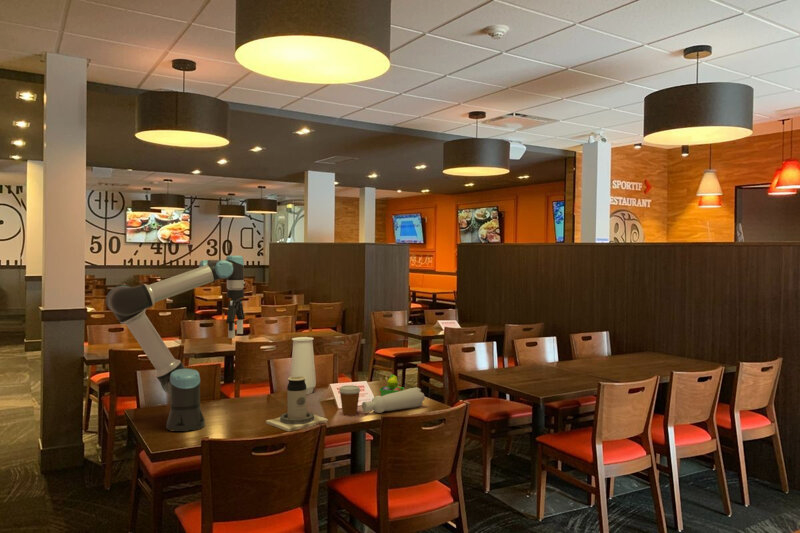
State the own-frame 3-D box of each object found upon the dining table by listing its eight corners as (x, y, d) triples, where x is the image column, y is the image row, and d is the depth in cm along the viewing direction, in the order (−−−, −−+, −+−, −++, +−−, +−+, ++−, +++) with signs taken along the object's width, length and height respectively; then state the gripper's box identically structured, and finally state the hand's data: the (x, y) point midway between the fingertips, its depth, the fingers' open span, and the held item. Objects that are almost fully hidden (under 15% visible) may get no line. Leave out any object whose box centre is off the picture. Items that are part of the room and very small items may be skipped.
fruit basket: (379, 399, 302) (378, 377, 302) (383, 395, 311) (383, 373, 310) (401, 401, 300) (401, 378, 299) (405, 396, 308) (405, 374, 308)
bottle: (413, 396, 295) (357, 406, 279) (418, 382, 290) (362, 392, 275) (422, 410, 289) (366, 421, 273) (427, 396, 284) (371, 407, 268)
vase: (285, 393, 315) (285, 339, 314) (299, 388, 327) (298, 336, 326) (307, 396, 310) (307, 340, 309) (320, 390, 322) (320, 337, 321)
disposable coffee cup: (352, 417, 269) (351, 390, 269) (334, 414, 274) (334, 388, 274) (364, 413, 277) (364, 386, 277) (347, 410, 282) (347, 384, 282)
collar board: (288, 431, 249) (288, 424, 249) (266, 423, 261) (265, 416, 261) (328, 422, 263) (327, 415, 263) (304, 414, 275) (304, 407, 275)
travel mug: (285, 418, 264) (285, 376, 263) (303, 416, 267) (303, 375, 267) (290, 423, 257) (289, 380, 256) (308, 421, 260) (308, 378, 259)
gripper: (235, 291, 267) (236, 339, 267) (250, 287, 292) (251, 332, 292) (218, 291, 267) (219, 339, 267) (234, 287, 292) (235, 332, 292)
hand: (235, 335), depth 280 cm, fingers open, 13 cm apart
